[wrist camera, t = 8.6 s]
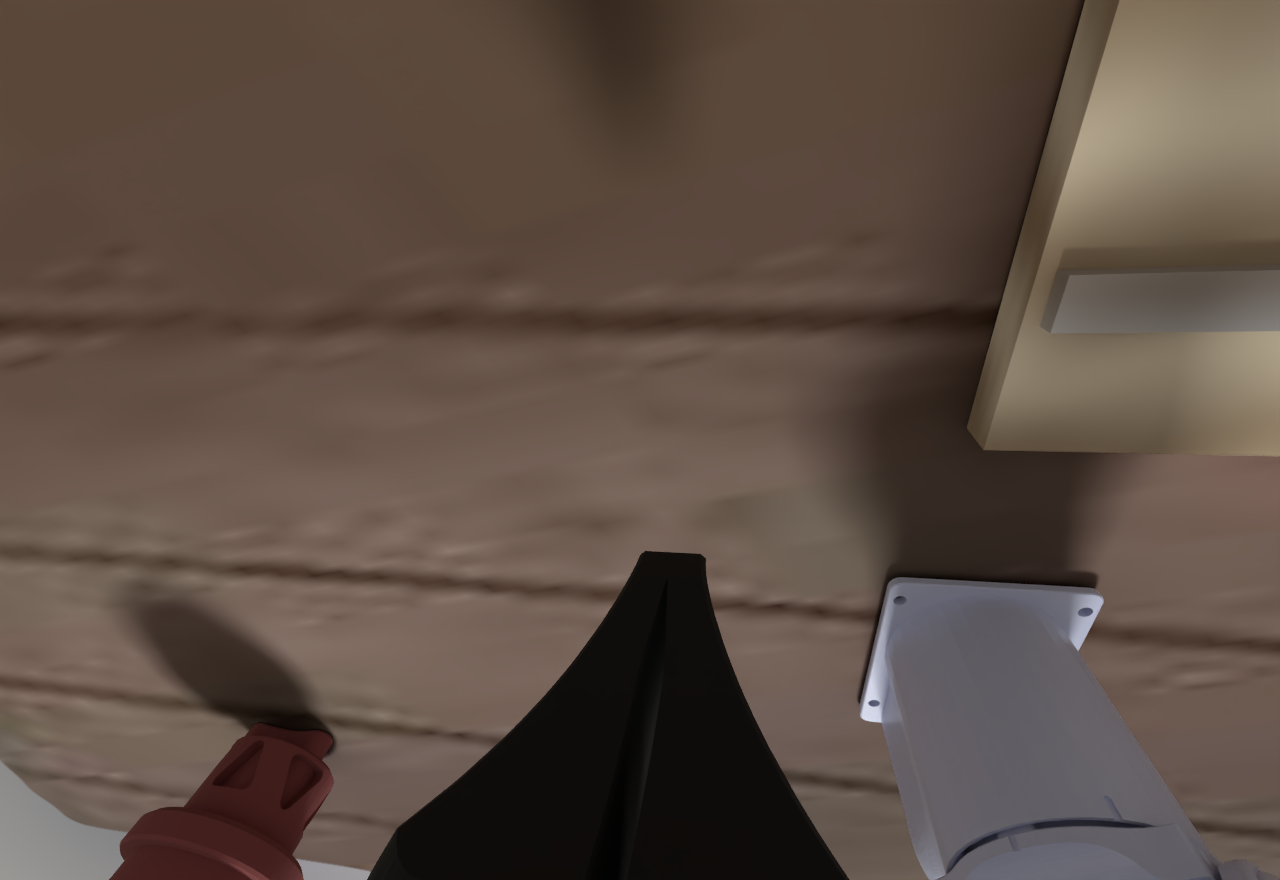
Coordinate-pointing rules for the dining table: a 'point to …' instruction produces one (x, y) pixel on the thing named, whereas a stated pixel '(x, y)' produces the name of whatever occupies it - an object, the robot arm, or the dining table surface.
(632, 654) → the robot arm
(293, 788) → the mechanical component
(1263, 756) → the dining table surface
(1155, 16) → the hole board
